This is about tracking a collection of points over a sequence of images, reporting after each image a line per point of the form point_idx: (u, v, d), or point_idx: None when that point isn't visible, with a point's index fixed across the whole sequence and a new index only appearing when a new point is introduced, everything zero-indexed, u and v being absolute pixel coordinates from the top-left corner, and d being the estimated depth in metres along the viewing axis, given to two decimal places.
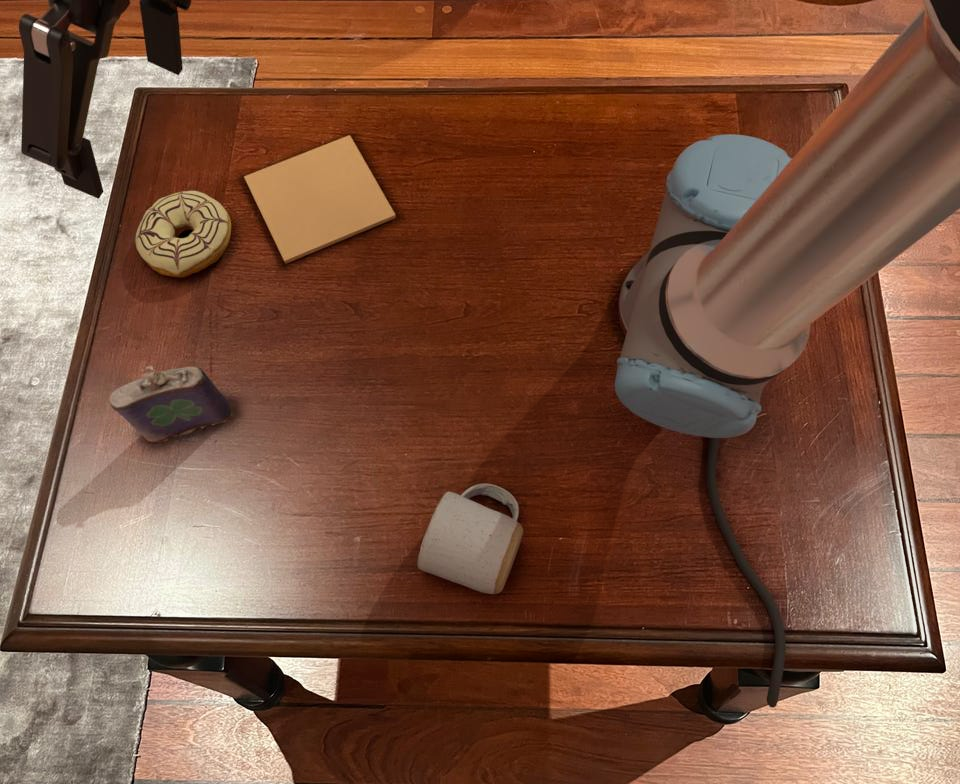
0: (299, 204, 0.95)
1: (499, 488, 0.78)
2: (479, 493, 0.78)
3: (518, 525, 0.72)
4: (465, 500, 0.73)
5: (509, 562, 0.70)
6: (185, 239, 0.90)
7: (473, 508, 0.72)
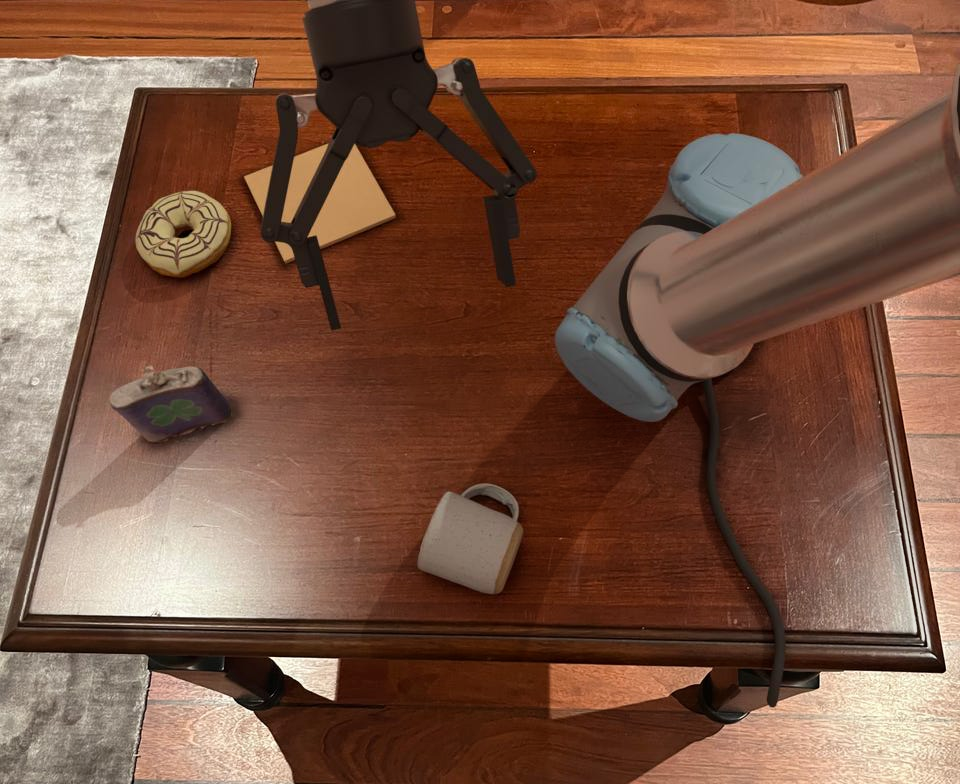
0: (299, 204, 0.95)
1: (499, 488, 0.78)
2: (479, 493, 0.78)
3: (518, 525, 0.72)
4: (465, 500, 0.73)
5: (509, 562, 0.70)
6: (185, 239, 0.90)
7: (473, 508, 0.72)
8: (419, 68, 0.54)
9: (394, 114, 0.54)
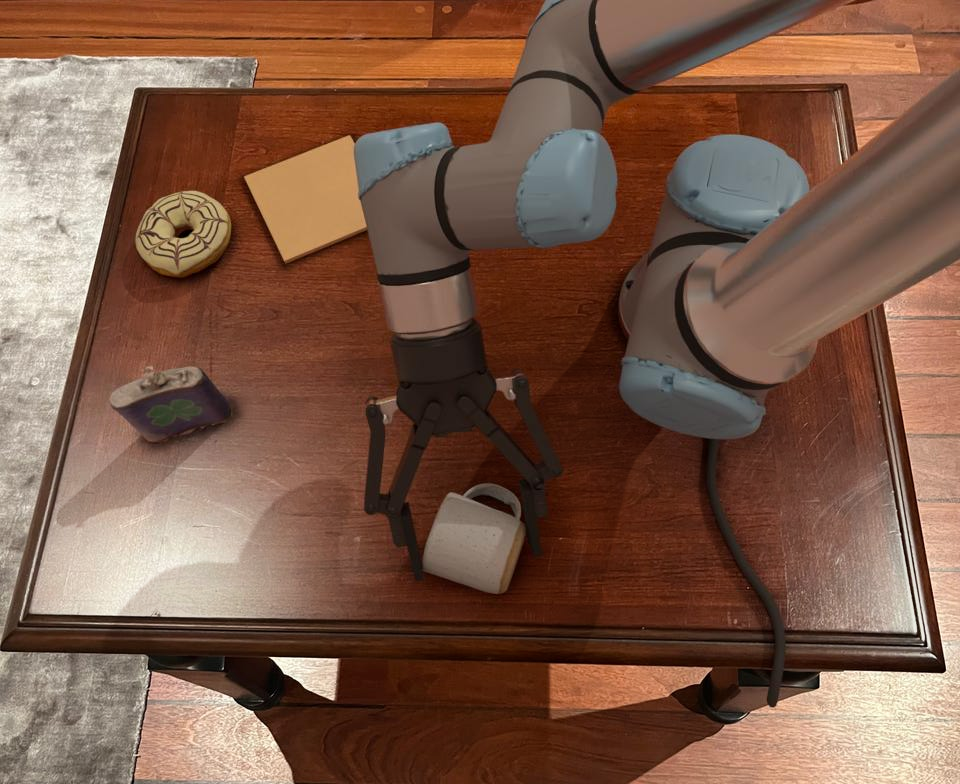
0: (299, 204, 0.95)
1: (501, 488, 0.78)
2: (481, 493, 0.78)
3: (521, 524, 0.72)
4: (468, 501, 0.73)
5: (513, 561, 0.70)
6: (185, 239, 0.90)
7: (476, 508, 0.72)
8: (481, 379, 0.65)
9: (459, 412, 0.66)
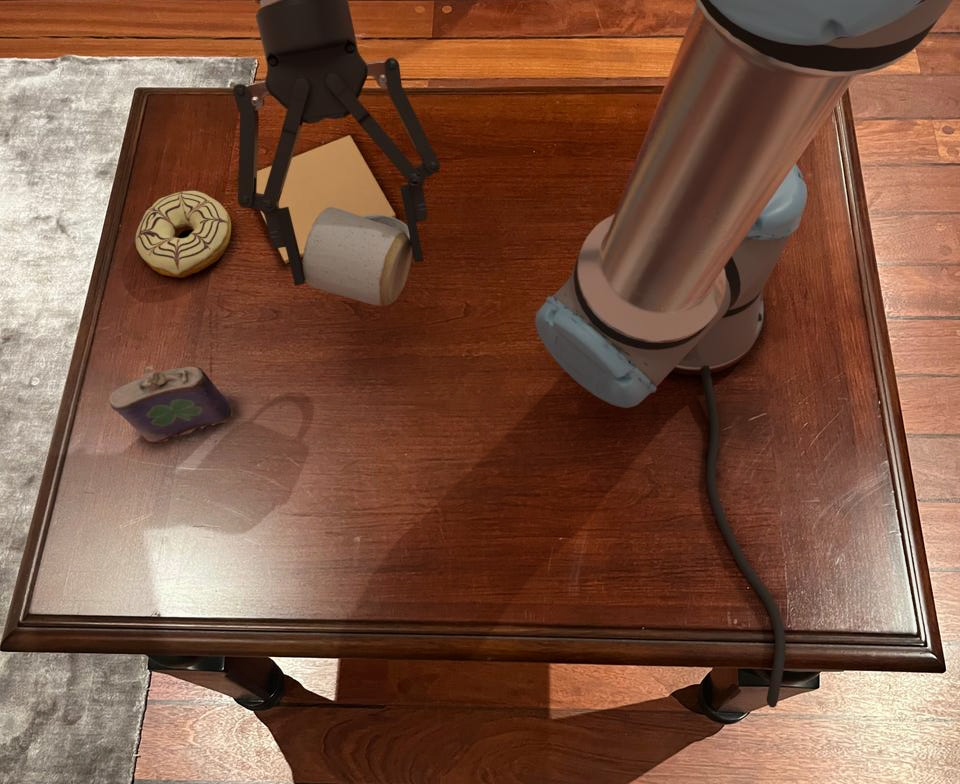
0: (299, 204, 0.95)
1: (392, 218, 0.77)
2: None
3: (404, 233, 0.72)
4: (351, 213, 0.72)
5: (392, 261, 0.69)
6: (185, 239, 0.90)
7: (358, 217, 0.71)
8: (350, 58, 0.65)
9: (329, 95, 0.66)
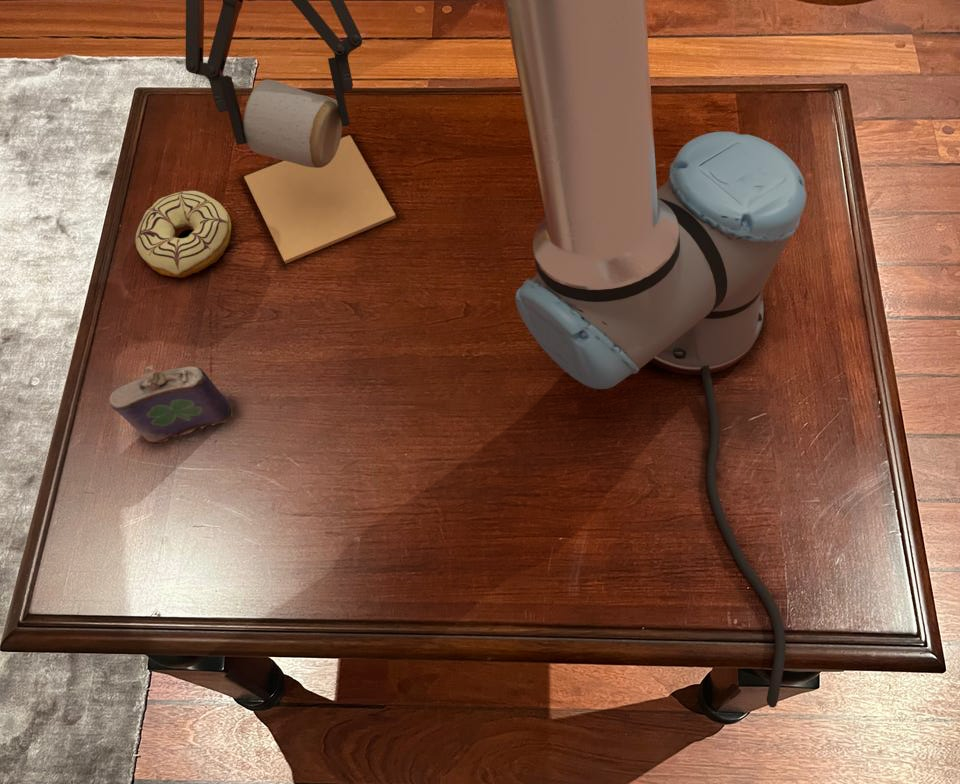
0: (299, 204, 0.95)
1: (327, 97, 0.88)
2: None
3: (333, 102, 0.82)
4: (288, 85, 0.83)
5: (320, 122, 0.80)
6: (185, 239, 0.90)
7: (293, 87, 0.82)
8: None
9: None
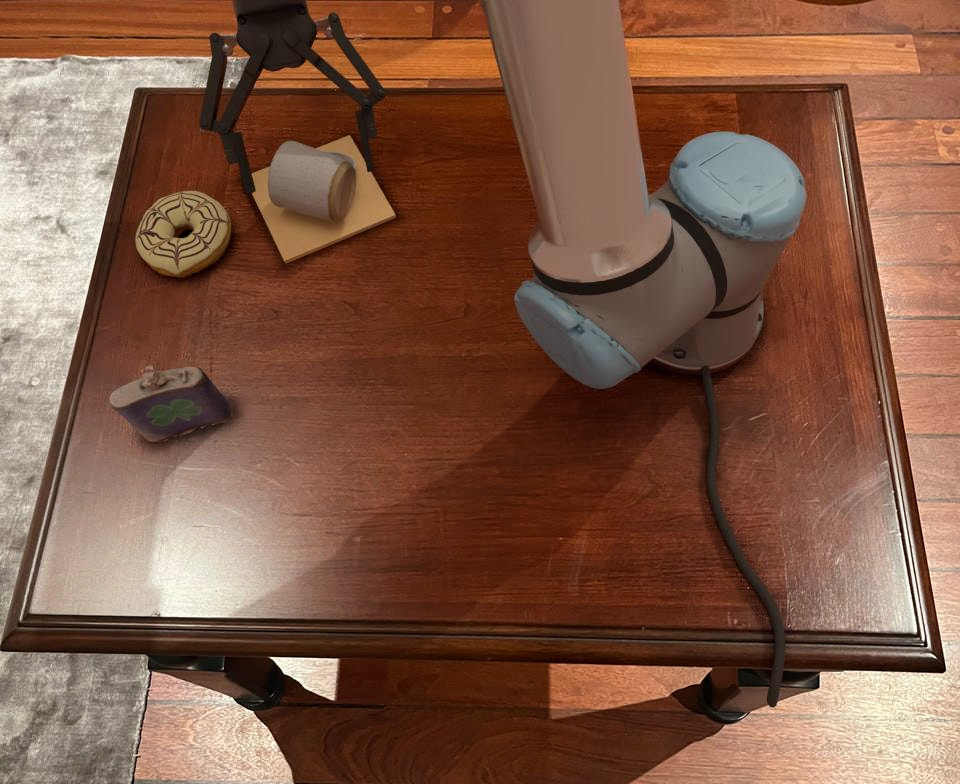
0: None
1: (342, 154, 0.96)
2: None
3: (348, 161, 0.90)
4: None
5: (338, 181, 0.88)
6: (185, 239, 0.90)
7: (312, 148, 0.90)
8: (302, 19, 0.83)
9: (286, 48, 0.84)
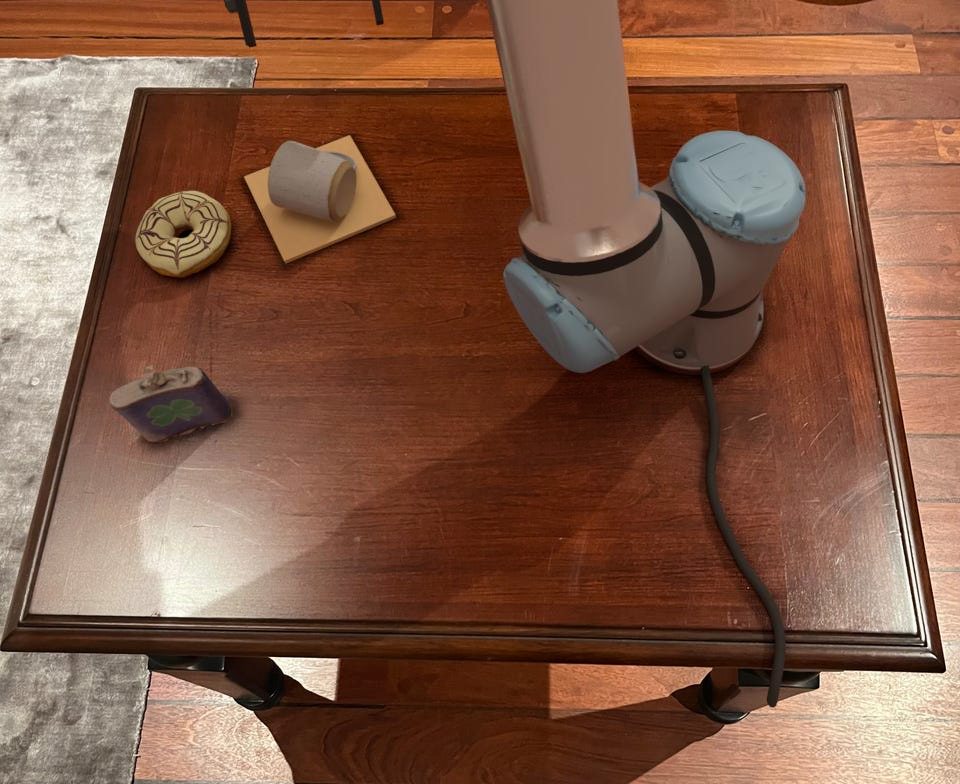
0: None
1: (342, 154, 0.96)
2: None
3: (349, 162, 0.90)
4: None
5: (338, 181, 0.88)
6: (185, 239, 0.90)
7: (312, 148, 0.90)
8: None
9: None
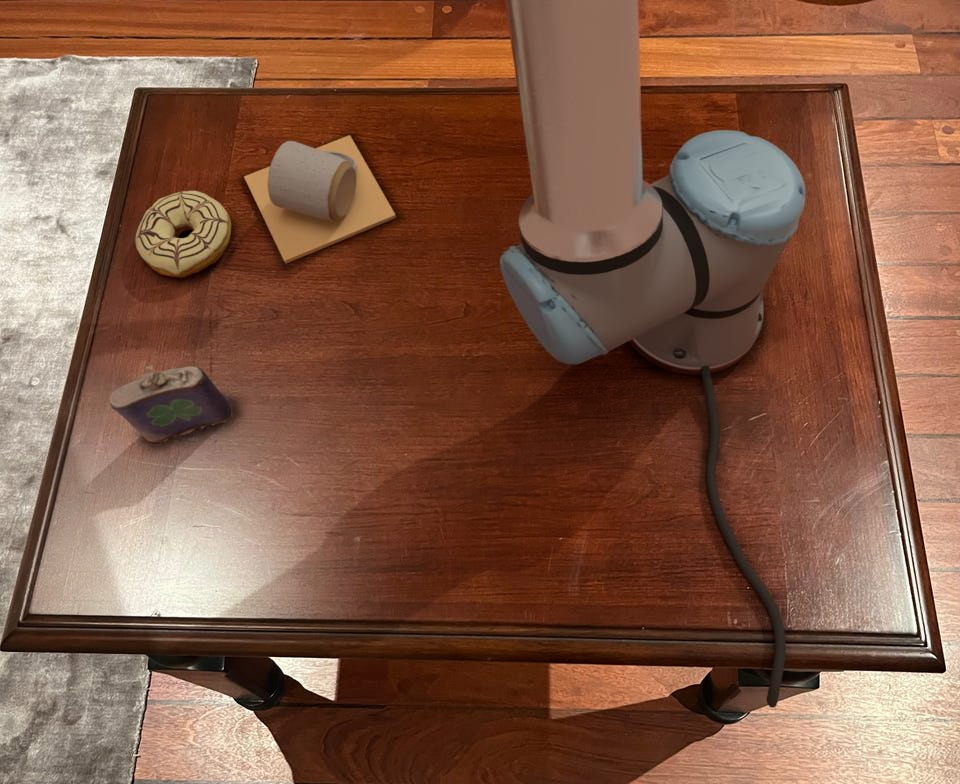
0: None
1: (342, 154, 0.96)
2: None
3: (349, 162, 0.90)
4: None
5: (338, 181, 0.88)
6: (185, 239, 0.90)
7: (312, 148, 0.90)
8: None
9: None
